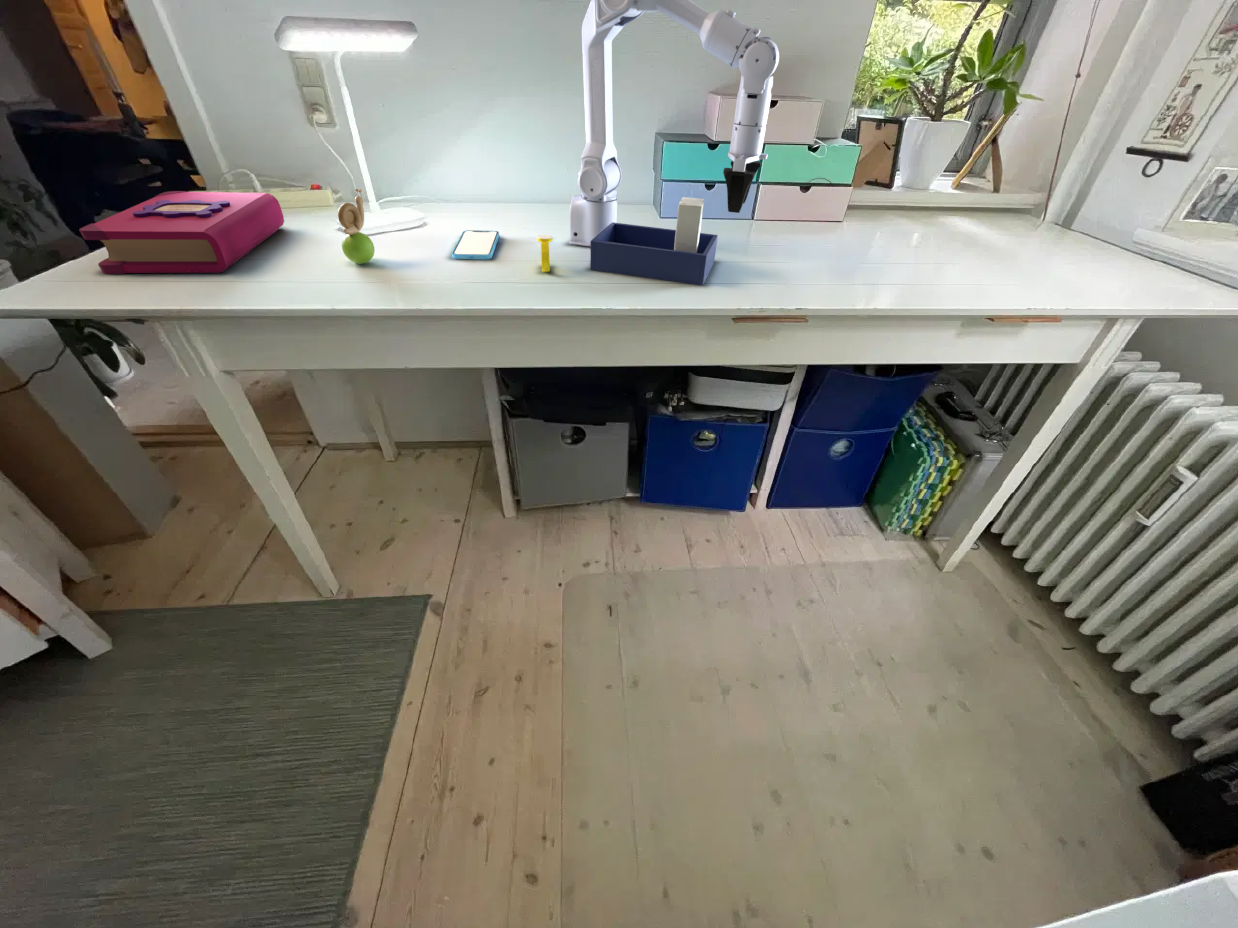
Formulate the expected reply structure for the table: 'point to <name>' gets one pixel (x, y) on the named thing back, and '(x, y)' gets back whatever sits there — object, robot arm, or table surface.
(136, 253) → the book
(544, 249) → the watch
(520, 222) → the table surface
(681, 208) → the cosmetic box
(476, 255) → the smartphone
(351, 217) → the snail figurine
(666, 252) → the bin
